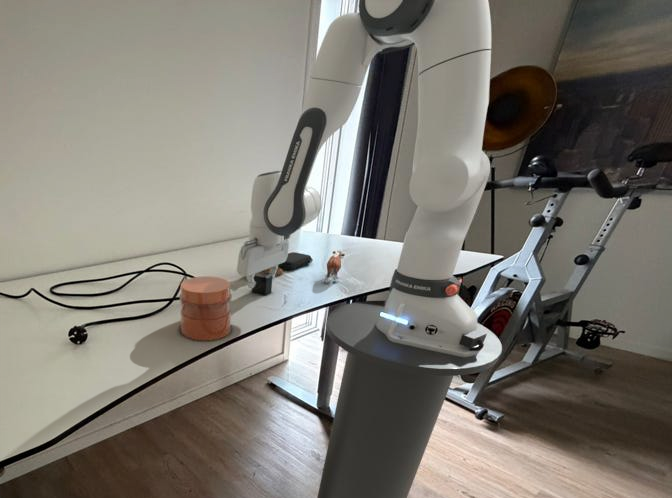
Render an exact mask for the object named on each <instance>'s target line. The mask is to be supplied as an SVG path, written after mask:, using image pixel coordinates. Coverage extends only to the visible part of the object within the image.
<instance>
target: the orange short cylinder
mask: <svg viewBox="0 0 672 498" xmlns="http://www.w3.org/2000/svg"><path fill="white" fill-rule="evenodd" d="M178 296H179V299H178V300H179V302H180V303H181V309H180V312H179V313H180V329H181V333H182V335H183V336H185V337H186V338H188V339H191V340H195V341H214V340H219V339H222V338H225V337H227V336H228V335H229V334H230V332H231V326H232V325H231V324H232V316H231V315H232V310H231V308H230V303H231V302H232V299H233V294H232V293H231V282H230V281H229V280H227V279H226V278H222V277H217V276H206V275H205V276H196V277H190V278H187V279H185V280H183V281H182V282H181V283H180V293H179V295H178Z"/></svg>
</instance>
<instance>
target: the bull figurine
mask: <svg viewBox="0 0 672 498" xmlns="http://www.w3.org/2000/svg"><path fill="white" fill-rule="evenodd" d="M344 259H345V253H344V252H343V250H340V249H338V250H337V251H335V250H333V251H332V256H330V257H329V259H328V261H327V263H326V270H327V271H326V280H325V281H324V283H325V284H328V283H329V279H330V277H333V283H338V280H337V279H338V273H339V271H340V270H341V269H342V260H344Z"/></svg>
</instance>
